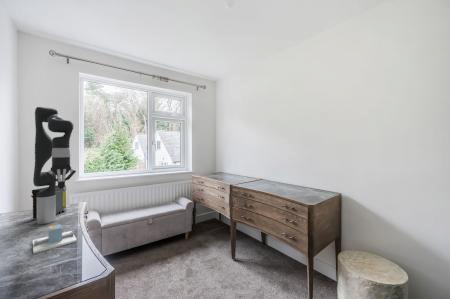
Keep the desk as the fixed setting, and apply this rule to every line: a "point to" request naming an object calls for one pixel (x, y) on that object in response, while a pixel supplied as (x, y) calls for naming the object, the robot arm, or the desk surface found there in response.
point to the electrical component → (59, 200)
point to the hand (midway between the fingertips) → (61, 188)
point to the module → (54, 233)
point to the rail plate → (44, 244)
